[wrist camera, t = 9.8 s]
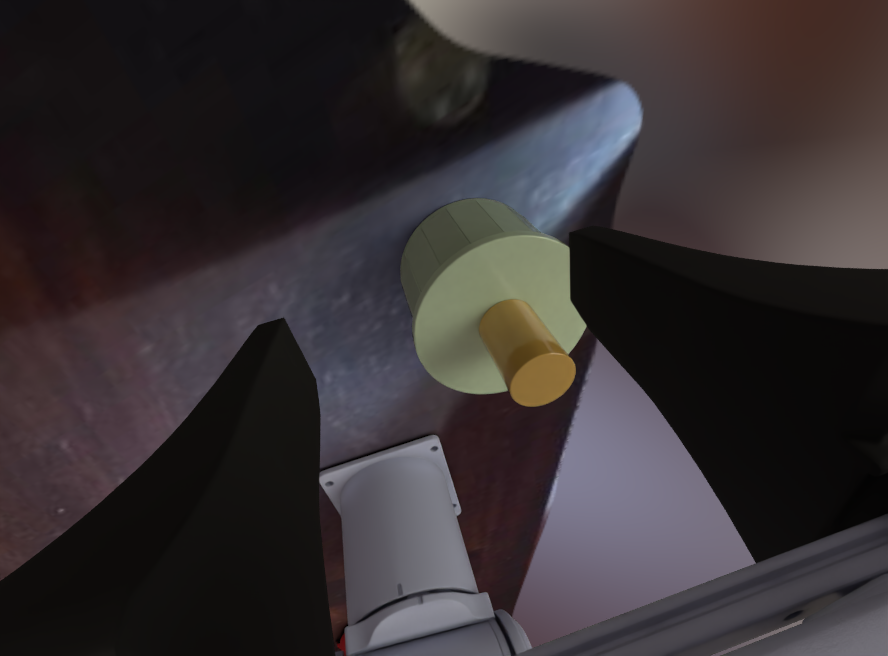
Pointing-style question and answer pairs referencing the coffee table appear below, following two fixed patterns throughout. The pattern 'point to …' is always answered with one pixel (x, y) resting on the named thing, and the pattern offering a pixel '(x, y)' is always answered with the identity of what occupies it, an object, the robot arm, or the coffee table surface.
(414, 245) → the tin
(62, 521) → the coffee table surface
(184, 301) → the coffee table surface
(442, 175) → the coffee table surface
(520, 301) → the lid
